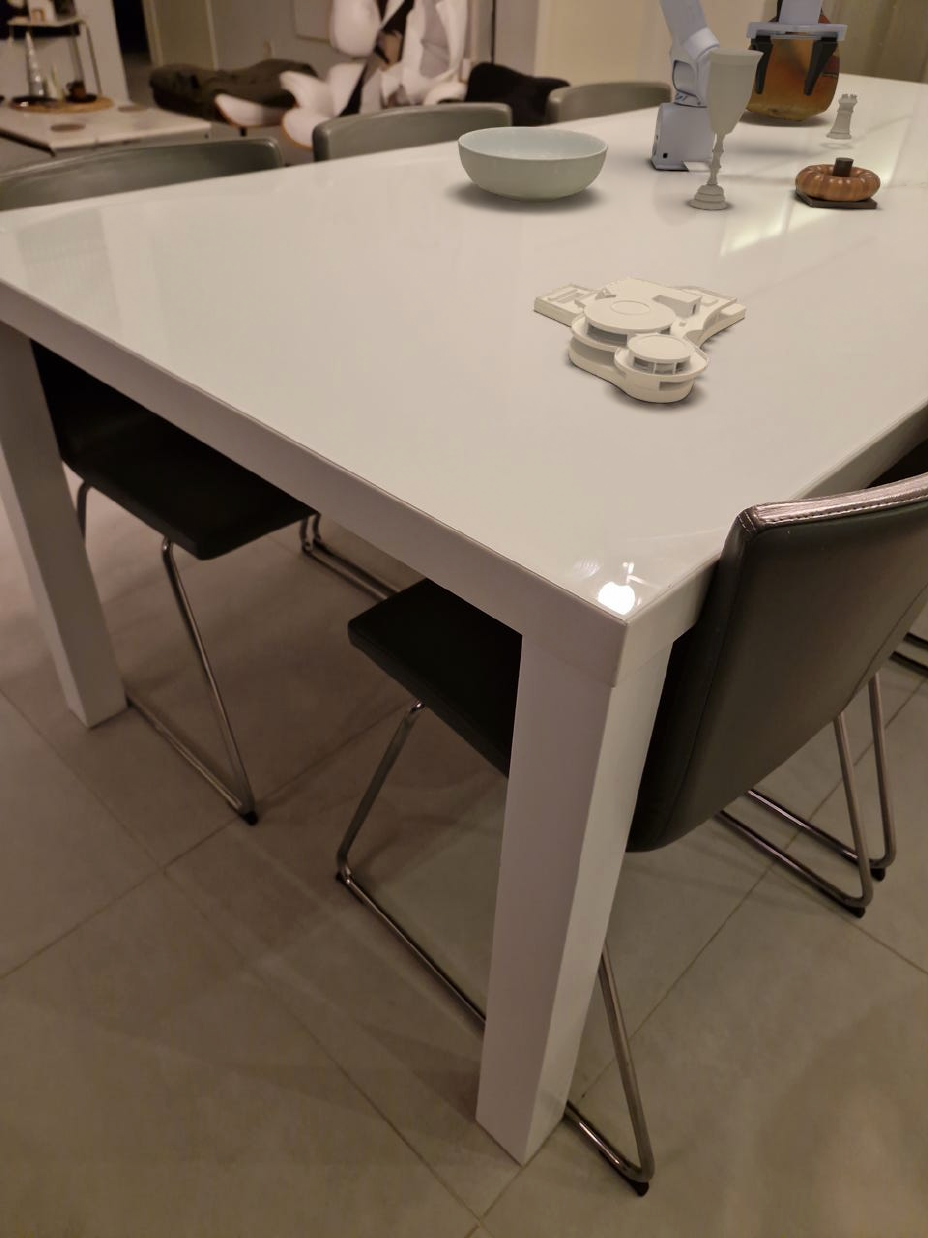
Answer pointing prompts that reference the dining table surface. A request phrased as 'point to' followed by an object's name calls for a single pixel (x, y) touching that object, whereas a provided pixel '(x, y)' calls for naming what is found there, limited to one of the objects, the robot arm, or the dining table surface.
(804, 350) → the dining table surface
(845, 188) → the ring
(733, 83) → the chalice
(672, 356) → the white architectural building model
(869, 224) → the dining table surface
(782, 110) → the ceramic pitcher
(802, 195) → the post
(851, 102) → the rook chess piece
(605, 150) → the serving bowl
